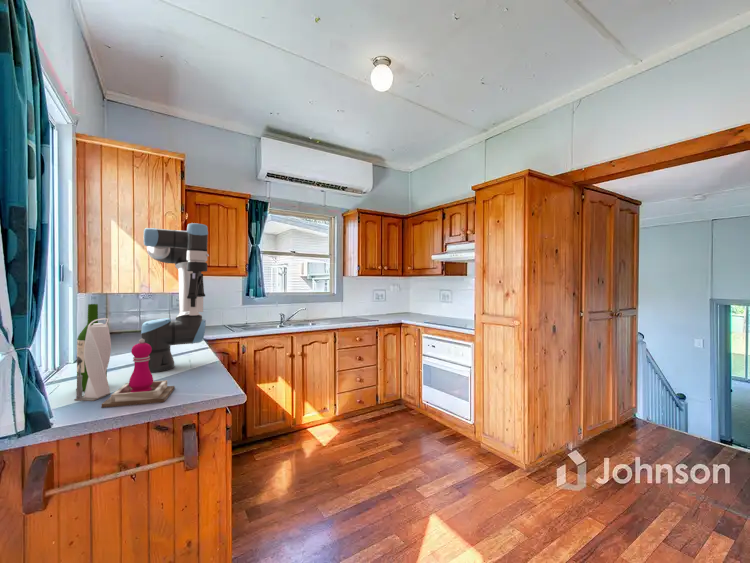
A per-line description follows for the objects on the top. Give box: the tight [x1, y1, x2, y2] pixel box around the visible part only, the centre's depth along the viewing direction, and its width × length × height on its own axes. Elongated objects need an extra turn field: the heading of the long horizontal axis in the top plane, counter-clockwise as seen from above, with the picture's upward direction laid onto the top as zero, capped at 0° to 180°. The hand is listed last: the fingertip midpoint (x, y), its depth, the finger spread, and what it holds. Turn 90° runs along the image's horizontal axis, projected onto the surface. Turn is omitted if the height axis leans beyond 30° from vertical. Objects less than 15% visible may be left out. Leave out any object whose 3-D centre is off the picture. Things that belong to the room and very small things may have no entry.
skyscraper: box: [74, 317, 112, 402], centre depth 121 cm, size 8×8×28 cm
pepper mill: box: [128, 338, 154, 392], centre depth 121 cm, size 7×7×20 cm
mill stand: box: [101, 379, 176, 408], centre depth 121 cm, size 15×18×4 cm
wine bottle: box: [76, 303, 108, 392], centre depth 131 cm, size 9×9×32 cm
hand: (196, 313), depth 138 cm, fingers open, 13 cm apart
